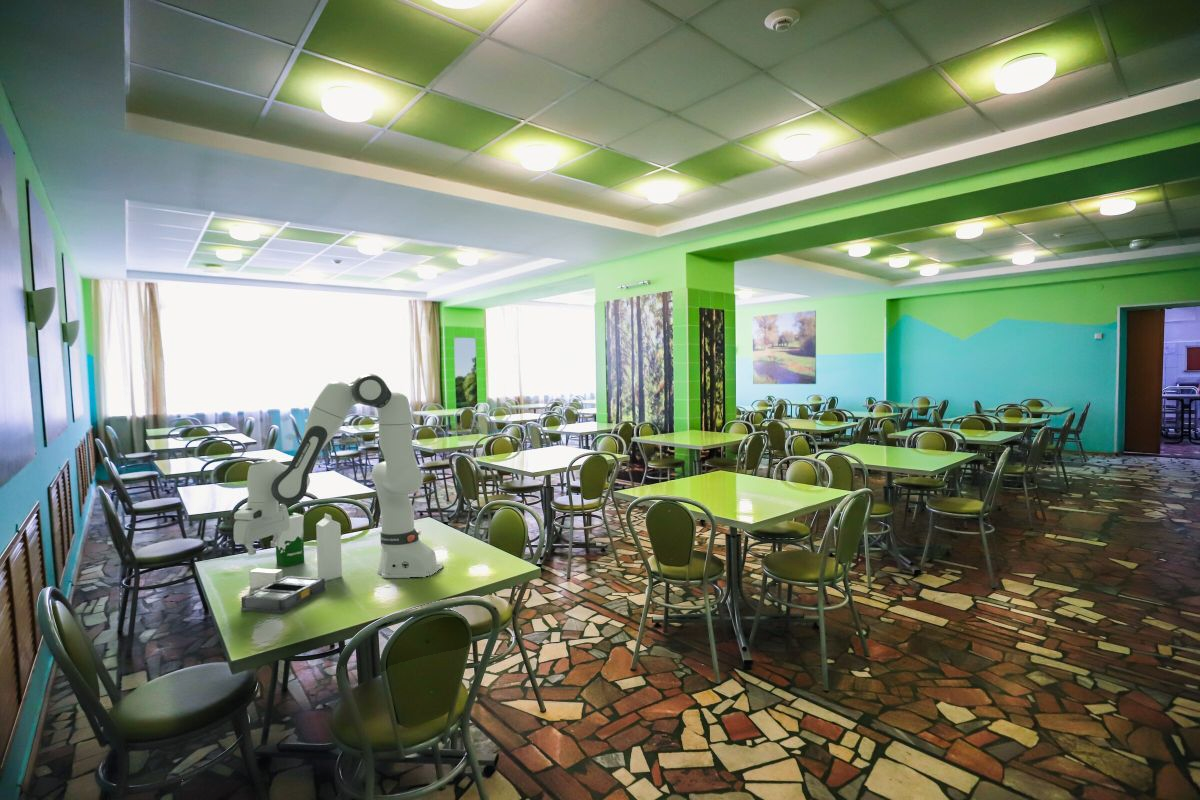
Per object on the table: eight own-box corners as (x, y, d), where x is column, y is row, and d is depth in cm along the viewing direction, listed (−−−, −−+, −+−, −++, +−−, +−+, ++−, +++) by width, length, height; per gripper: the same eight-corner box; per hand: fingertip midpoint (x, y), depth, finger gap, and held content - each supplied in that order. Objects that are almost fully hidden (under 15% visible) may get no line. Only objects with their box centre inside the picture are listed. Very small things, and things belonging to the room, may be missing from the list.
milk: (335, 572, 202) (333, 511, 201) (342, 576, 197) (340, 514, 197) (317, 577, 197) (315, 514, 197) (324, 581, 193) (322, 517, 192)
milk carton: (297, 557, 219) (295, 506, 219) (308, 562, 214) (306, 509, 213) (272, 563, 212) (271, 511, 212) (284, 568, 207) (282, 514, 206)
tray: (326, 590, 185) (326, 578, 185) (282, 614, 166) (282, 600, 166) (287, 587, 188) (287, 575, 188) (240, 610, 169) (239, 597, 169)
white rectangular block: (283, 587, 188) (282, 569, 188) (276, 591, 185) (275, 572, 185) (257, 585, 190) (256, 568, 190) (250, 589, 187) (249, 571, 187)
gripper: (278, 502, 197) (279, 541, 198) (229, 515, 177) (229, 558, 178) (294, 502, 196) (294, 542, 196) (246, 516, 176) (247, 560, 176)
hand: (263, 550), depth 187 cm, fingers open, 8 cm apart
